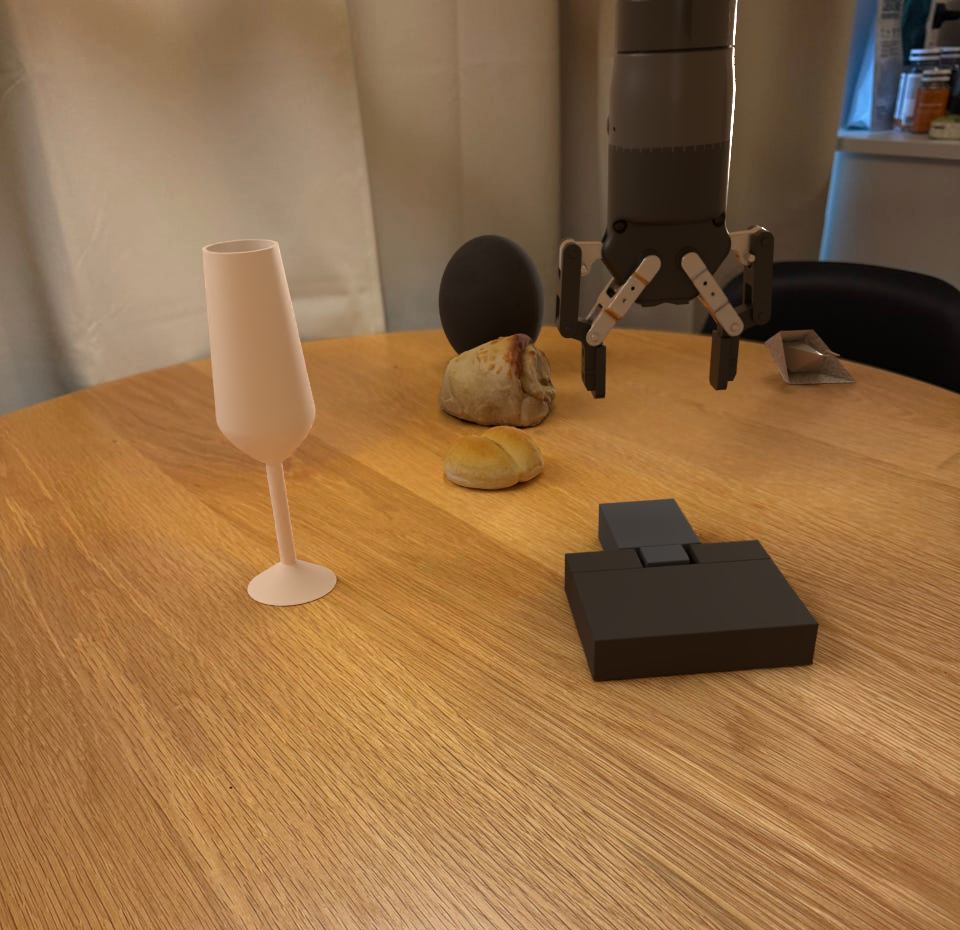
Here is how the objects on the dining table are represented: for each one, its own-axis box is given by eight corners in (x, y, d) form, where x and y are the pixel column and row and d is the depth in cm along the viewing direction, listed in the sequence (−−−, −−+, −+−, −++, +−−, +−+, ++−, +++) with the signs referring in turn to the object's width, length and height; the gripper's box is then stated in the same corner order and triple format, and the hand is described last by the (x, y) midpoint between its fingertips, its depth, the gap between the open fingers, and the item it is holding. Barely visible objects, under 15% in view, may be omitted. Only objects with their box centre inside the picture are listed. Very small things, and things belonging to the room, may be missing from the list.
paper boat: (830, 354, 116) (889, 351, 108) (808, 406, 117) (865, 407, 108) (754, 306, 111) (811, 299, 103) (732, 361, 111) (786, 359, 103)
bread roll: (428, 472, 93) (425, 430, 91) (510, 451, 97) (509, 411, 95) (473, 501, 87) (471, 457, 85) (559, 477, 91) (558, 435, 89)
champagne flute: (355, 582, 75) (315, 243, 63) (280, 615, 71) (222, 261, 59) (302, 555, 80) (255, 232, 67) (229, 585, 76) (165, 249, 63)
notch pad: (753, 576, 74) (758, 539, 72) (812, 664, 63) (819, 623, 62) (564, 590, 73) (564, 553, 71) (593, 681, 63) (594, 640, 61)
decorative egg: (452, 388, 115) (444, 249, 107) (434, 359, 125) (426, 230, 117) (557, 377, 116) (557, 240, 109) (531, 349, 127) (529, 222, 119)
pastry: (573, 423, 103) (574, 344, 99) (455, 437, 101) (451, 358, 97) (534, 383, 115) (533, 312, 111) (427, 396, 113) (422, 323, 108)
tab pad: (672, 532, 80) (674, 497, 79) (707, 595, 71) (711, 558, 70) (597, 537, 80) (598, 503, 79) (624, 601, 71) (626, 564, 70)
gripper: (564, 148, 59) (565, 416, 67) (804, 133, 59) (775, 401, 68) (547, 135, 65) (550, 382, 73) (764, 122, 65) (742, 368, 74)
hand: (658, 391), depth 71 cm, fingers open, 8 cm apart
